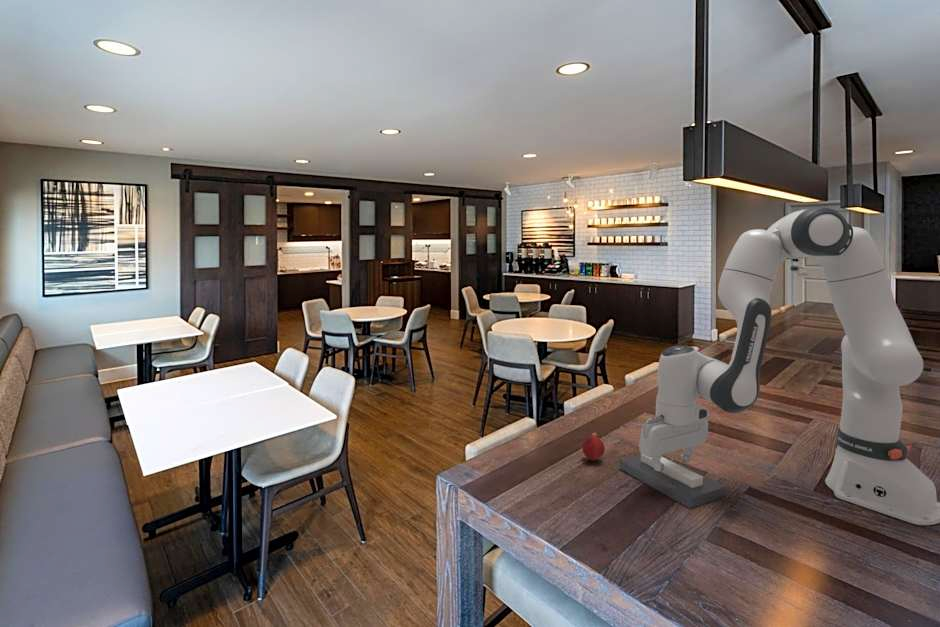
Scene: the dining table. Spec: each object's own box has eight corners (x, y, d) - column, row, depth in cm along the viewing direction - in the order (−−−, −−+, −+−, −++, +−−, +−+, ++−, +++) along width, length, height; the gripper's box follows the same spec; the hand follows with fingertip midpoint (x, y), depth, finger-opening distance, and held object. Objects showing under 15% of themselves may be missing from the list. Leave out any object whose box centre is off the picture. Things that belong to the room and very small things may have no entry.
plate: (725, 496, 119) (725, 486, 118) (689, 508, 113) (690, 498, 113) (652, 459, 138) (653, 451, 137) (619, 469, 132) (620, 460, 132)
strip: (701, 492, 119) (703, 476, 119) (691, 496, 118) (692, 480, 117) (649, 465, 133) (650, 451, 133) (640, 468, 132) (640, 453, 131)
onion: (588, 466, 134) (589, 438, 132) (578, 457, 139) (579, 430, 138) (607, 464, 135) (609, 435, 134) (596, 455, 141) (598, 428, 140)
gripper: (654, 424, 115) (652, 480, 117) (714, 409, 124) (710, 462, 126) (633, 415, 120) (631, 470, 122) (692, 402, 130) (689, 452, 132)
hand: (672, 466), depth 124 cm, fingers open, 8 cm apart
